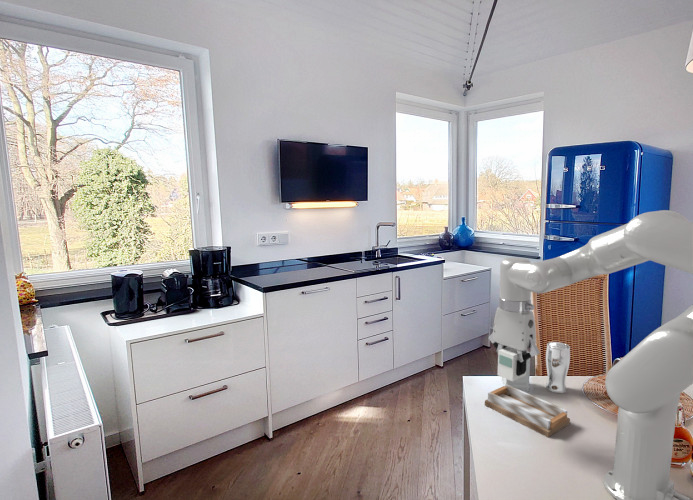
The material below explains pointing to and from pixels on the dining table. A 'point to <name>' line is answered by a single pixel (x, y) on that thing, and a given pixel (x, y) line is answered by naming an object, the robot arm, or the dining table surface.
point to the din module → (508, 364)
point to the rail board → (528, 410)
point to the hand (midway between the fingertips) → (511, 370)
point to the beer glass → (557, 366)
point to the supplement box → (520, 380)
